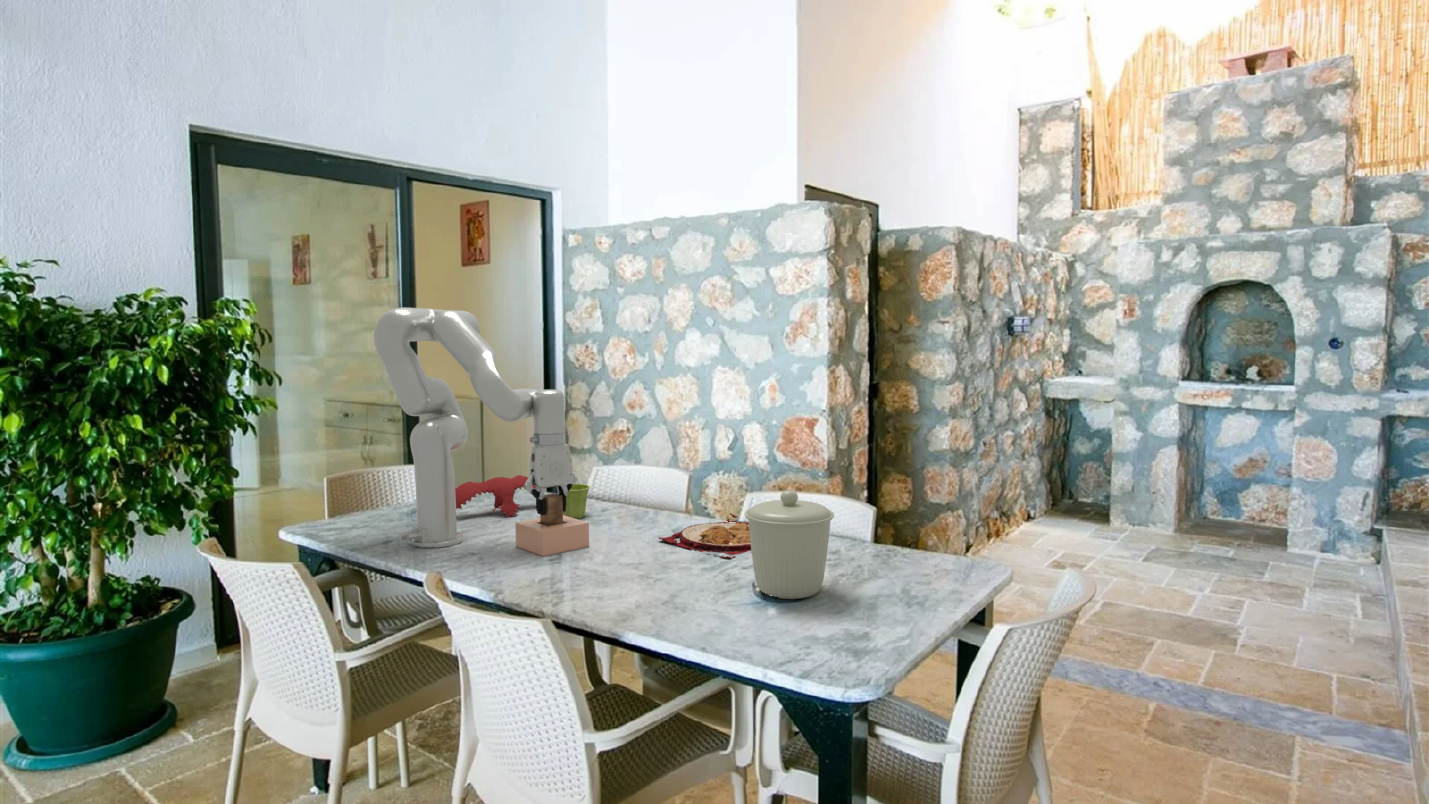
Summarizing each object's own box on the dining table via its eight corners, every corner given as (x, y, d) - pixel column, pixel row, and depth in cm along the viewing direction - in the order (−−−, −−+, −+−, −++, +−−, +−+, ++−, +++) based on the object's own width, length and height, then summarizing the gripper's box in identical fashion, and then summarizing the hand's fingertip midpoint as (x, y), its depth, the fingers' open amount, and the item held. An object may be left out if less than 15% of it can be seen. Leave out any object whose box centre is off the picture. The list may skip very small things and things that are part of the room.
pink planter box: (543, 556, 201) (542, 531, 200) (516, 546, 211) (515, 522, 210) (589, 546, 210) (588, 522, 209) (560, 536, 219) (560, 514, 219)
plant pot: (597, 515, 244) (596, 485, 243) (575, 521, 236) (575, 491, 235) (572, 511, 249) (572, 482, 248) (550, 518, 241) (550, 488, 240)
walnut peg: (549, 546, 207) (548, 497, 206) (541, 543, 210) (539, 495, 209) (563, 543, 210) (562, 495, 209) (554, 540, 213) (553, 493, 212)
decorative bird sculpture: (548, 521, 255) (531, 481, 262) (559, 504, 250) (541, 463, 256) (458, 537, 237) (443, 493, 244) (467, 519, 232) (451, 474, 238)
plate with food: (657, 545, 214) (656, 531, 214) (728, 524, 233) (728, 511, 233) (727, 564, 197) (727, 550, 197) (798, 540, 216) (798, 527, 215)
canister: (762, 610, 162) (762, 502, 160) (733, 583, 179) (733, 485, 177) (848, 601, 167) (849, 496, 165) (812, 575, 184) (813, 480, 182)
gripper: (526, 444, 199) (528, 520, 201) (587, 438, 211) (588, 509, 212) (511, 441, 205) (513, 515, 206) (570, 435, 216) (572, 505, 218)
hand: (551, 511), depth 209 cm, fingers open, 5 cm apart
